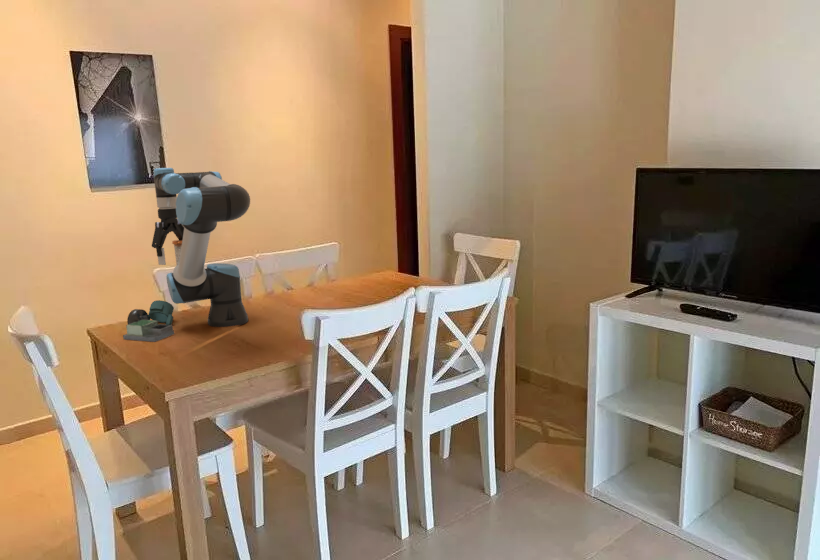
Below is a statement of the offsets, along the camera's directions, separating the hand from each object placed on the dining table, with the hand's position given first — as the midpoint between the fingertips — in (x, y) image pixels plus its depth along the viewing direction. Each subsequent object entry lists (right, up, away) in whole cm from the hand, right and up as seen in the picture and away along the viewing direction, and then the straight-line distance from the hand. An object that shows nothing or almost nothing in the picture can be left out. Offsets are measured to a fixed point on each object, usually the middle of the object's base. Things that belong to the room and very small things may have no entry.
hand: (173, 261), depth 254 cm
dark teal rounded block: (-2, -21, -1) cm, 21 cm away
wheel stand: (-7, -26, -15) cm, 31 cm away
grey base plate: (0, -28, -23) cm, 36 cm away
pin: (+1, -3, +5) cm, 6 cm away
